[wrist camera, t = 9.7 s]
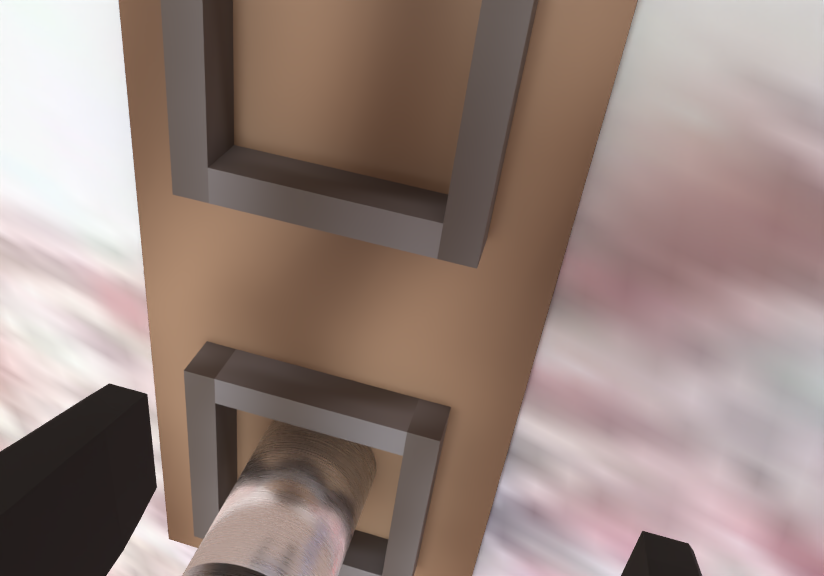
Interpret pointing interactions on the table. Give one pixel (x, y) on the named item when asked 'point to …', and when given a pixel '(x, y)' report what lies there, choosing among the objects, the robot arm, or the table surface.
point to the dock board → (359, 238)
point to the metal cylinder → (289, 507)
